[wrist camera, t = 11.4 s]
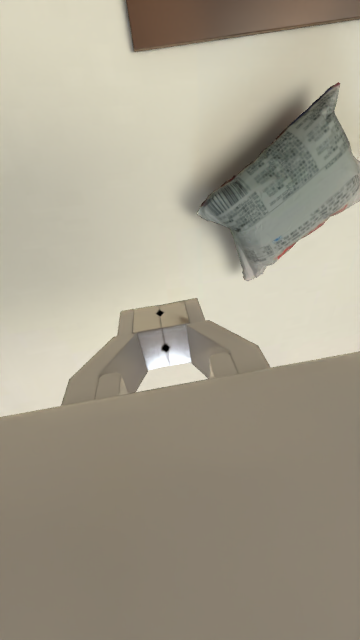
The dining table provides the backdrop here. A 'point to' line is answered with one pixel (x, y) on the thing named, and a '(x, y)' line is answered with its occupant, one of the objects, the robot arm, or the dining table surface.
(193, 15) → the ruler
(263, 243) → the packaged food
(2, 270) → the dining table surface
